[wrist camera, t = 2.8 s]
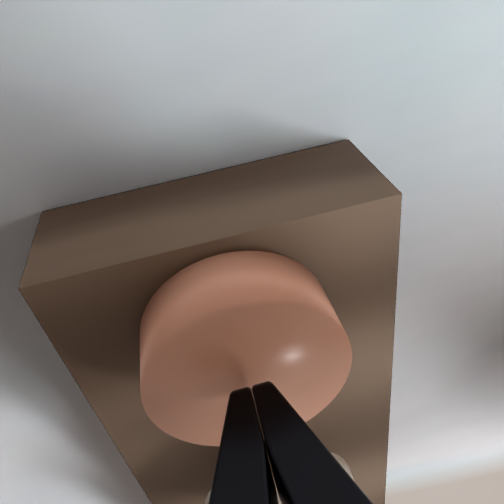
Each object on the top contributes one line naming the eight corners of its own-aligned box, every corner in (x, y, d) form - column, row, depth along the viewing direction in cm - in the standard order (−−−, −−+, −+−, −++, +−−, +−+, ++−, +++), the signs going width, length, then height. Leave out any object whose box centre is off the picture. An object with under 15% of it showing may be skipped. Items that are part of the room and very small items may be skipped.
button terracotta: (111, 280, 9) (108, 339, 8) (320, 228, 10) (350, 275, 8) (168, 408, 12) (172, 465, 11) (331, 363, 12) (354, 414, 11)
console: (41, 211, 11) (17, 288, 9) (348, 139, 12) (401, 193, 10) (195, 512, 22) (202, 585, 19) (356, 465, 22) (383, 530, 20)
